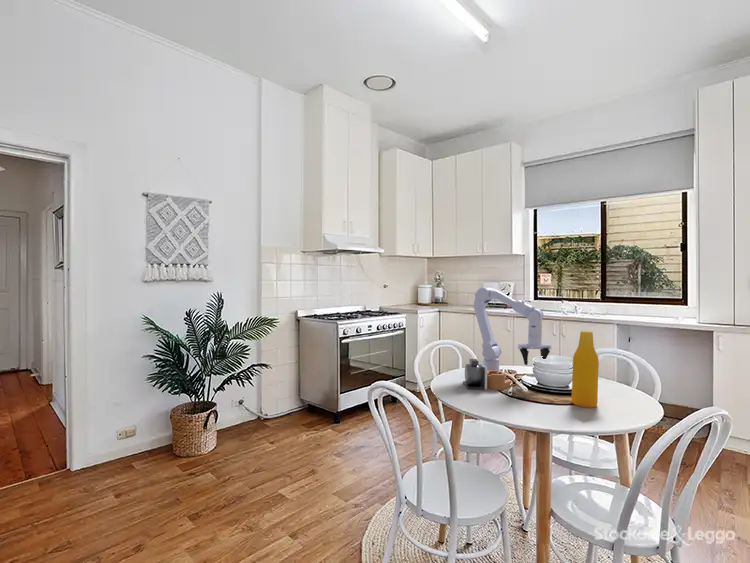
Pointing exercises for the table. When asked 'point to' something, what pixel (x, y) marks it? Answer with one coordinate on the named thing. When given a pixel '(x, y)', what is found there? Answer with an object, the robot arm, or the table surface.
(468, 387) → the motor
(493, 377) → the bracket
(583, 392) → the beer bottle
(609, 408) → the table surface
